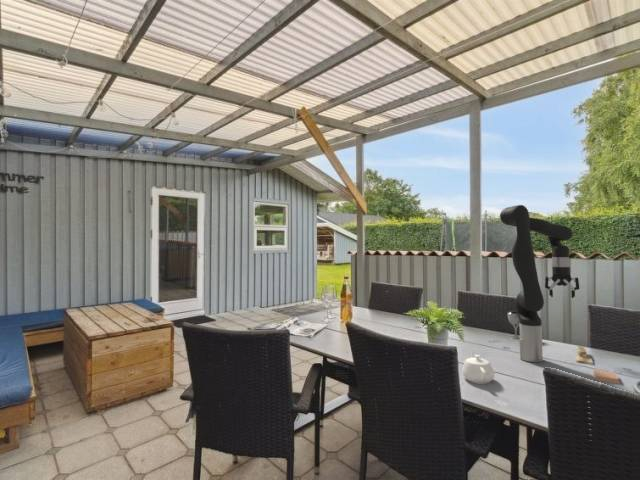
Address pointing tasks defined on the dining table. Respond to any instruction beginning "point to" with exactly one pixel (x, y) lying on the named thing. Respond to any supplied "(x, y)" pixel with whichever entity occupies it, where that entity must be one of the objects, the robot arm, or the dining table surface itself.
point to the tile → (605, 376)
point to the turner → (583, 356)
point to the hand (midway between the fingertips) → (562, 297)
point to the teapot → (478, 370)
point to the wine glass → (514, 322)
